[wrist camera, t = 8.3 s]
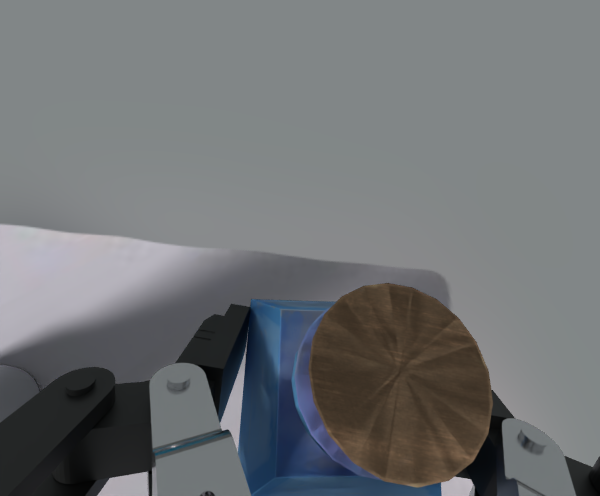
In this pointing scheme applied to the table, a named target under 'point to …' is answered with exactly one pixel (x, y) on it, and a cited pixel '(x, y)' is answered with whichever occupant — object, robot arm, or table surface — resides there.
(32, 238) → the table surface
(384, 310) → the perfume bottle
